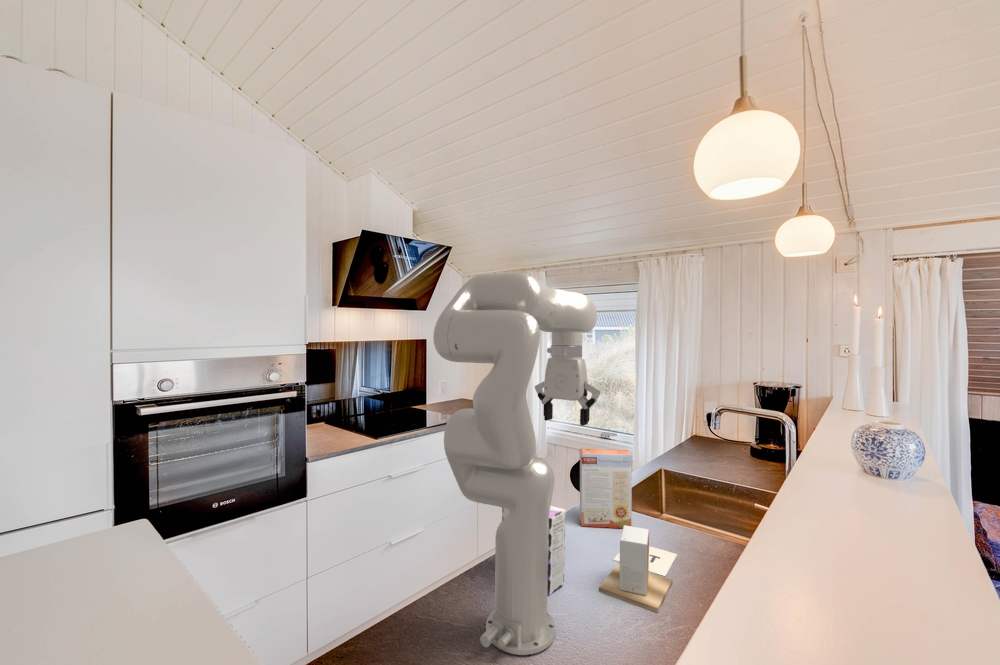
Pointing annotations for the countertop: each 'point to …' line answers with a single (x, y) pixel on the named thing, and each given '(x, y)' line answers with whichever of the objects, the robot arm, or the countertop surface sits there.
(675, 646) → the countertop surface
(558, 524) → the candy box
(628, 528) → the small box
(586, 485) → the cracker box
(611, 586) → the coaster
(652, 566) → the card
